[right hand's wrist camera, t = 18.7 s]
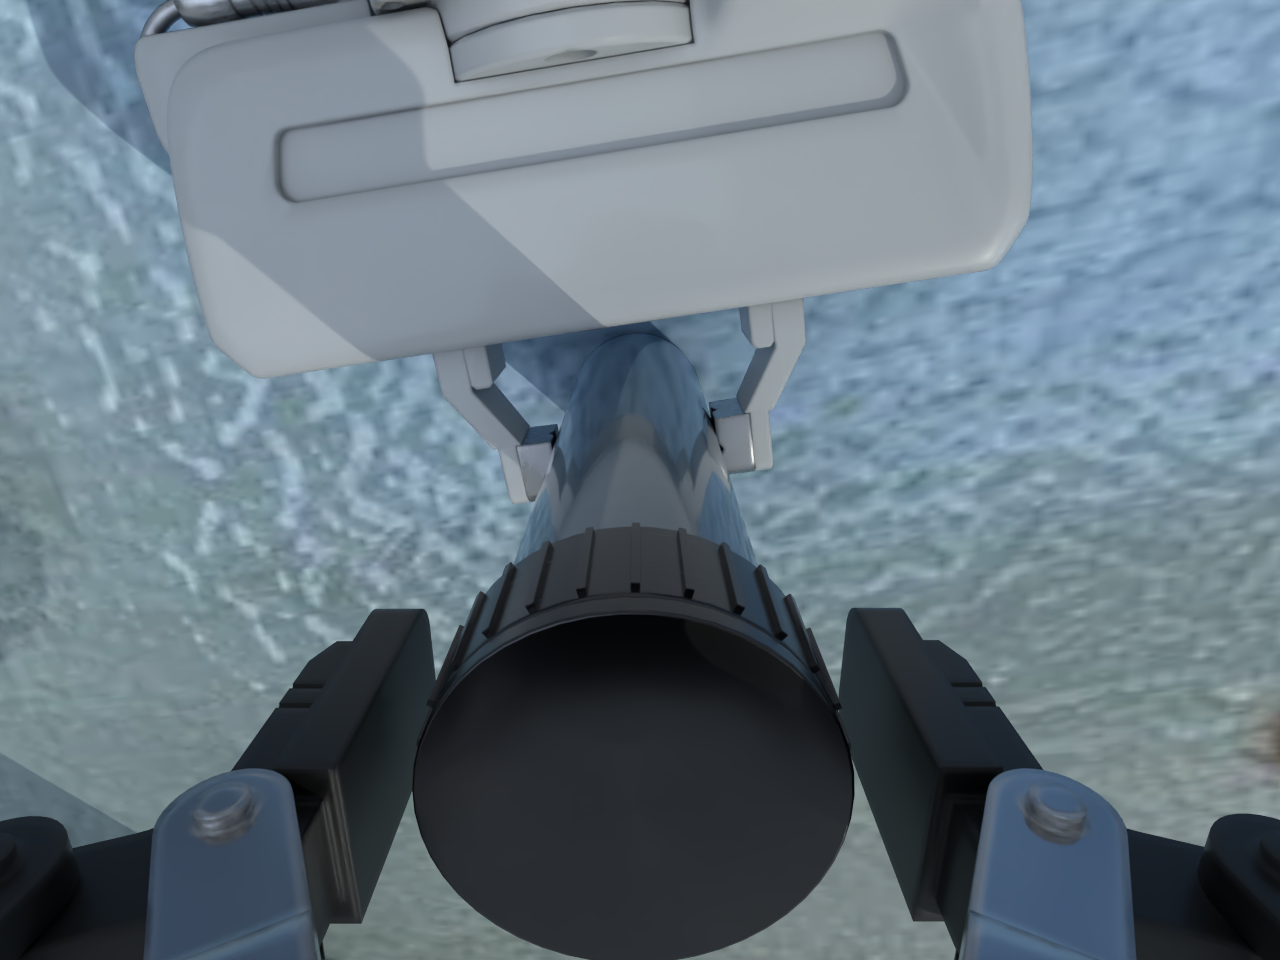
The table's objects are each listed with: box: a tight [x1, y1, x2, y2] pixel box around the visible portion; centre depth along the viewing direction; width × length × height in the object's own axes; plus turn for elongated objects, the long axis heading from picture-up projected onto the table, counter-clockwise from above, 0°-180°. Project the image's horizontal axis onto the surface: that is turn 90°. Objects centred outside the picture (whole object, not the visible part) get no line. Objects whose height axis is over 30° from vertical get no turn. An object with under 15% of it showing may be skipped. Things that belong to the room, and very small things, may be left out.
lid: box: [412, 523, 854, 960], centre depth 10 cm, size 5×5×2 cm
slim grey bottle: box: [513, 333, 758, 567], centre depth 19 cm, size 4×4×19 cm
